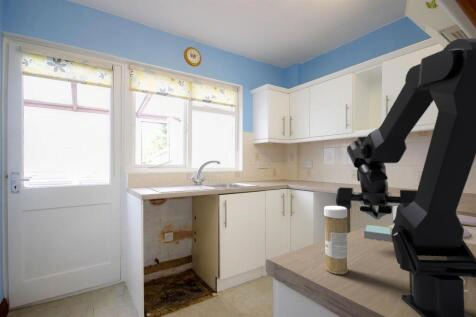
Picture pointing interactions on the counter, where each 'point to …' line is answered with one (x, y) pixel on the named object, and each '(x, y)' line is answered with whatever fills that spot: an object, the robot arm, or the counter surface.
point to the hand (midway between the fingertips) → (377, 217)
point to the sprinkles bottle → (336, 239)
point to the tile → (378, 233)
